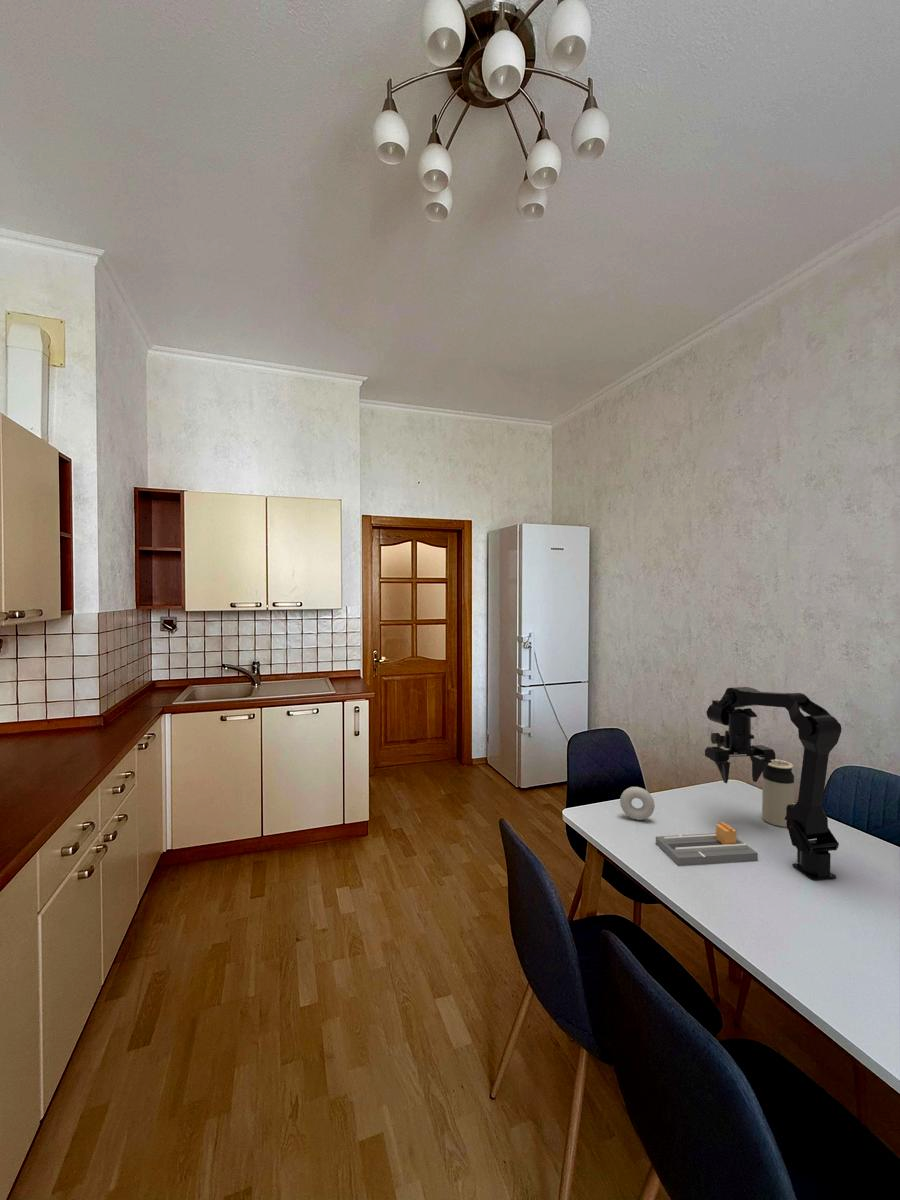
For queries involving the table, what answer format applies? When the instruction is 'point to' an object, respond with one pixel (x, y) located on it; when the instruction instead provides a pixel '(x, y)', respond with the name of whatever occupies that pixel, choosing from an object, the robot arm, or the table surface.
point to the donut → (632, 811)
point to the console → (704, 849)
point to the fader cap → (725, 834)
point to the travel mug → (777, 791)
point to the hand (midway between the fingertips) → (740, 782)
